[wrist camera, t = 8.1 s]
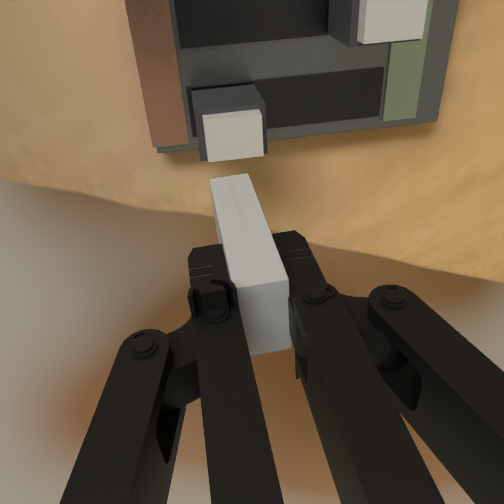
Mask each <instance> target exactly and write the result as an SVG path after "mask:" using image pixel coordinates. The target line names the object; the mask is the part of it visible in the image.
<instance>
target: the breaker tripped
mask: <svg viewBox="0 0 504 504" xmlns="http://www.w3.org/2000/svg"><path fill="white" fill-rule="evenodd" d="M191 94H192V102H193V109H194V117H195V124H196V132H197V139H198V145H199V152H200V158H201V161H207V160H208V162H217V161H225V160H234V159H242V158H251V157H259V156H264V154H266V153H268V152H267V127H266V103H265V101H264V100H263V98H262V96H261V95H260V93H259V91H258V90H257V88H256V86H255V85H254V84H252V85H243V86H233V87H223V88H214V89H204V90H194V91H191Z"/></svg>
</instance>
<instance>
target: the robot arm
mask: <svg viewBox="0 0 504 504" xmlns="http://www.w3.org/2000/svg"><path fill="white" fill-rule="evenodd" d="M209 181H210V188H211V195H212V201H213V208H214V215H215V221H216V228H217V234H218V240H219V244H215V245H209V246H203V247H197V248H193V249H192V251H191V253H190V255H189V257H188V266H189V275H190V285H191V288H190V289H189V291H188V301H189V306H190V310H191V318H190V319H189V320H188V321H187V323H186V324H184V325H183V326H182V327H180V328H179V329H177V330H175V331H173V332H171V333H168V334H165V333H163V332H161V331H160V330H155V329H147V330H141V331H138V332H136V333H134V334H132V335H130V336H129V337H128V338H127V339H126V340H124V342H123V343H122V345H121V346H120V348H119V351H118V354H117V357H116V359H115V361H114V364H113V366H112V369H111V371H110V374H109V377H108V379H107V382H106V384H105V387H104V390H103V392H102V395H101V398H100V400H99V403H98V405H97V408H96V410H95V413H94V416H93V418H92V421H91V423H90V426H89V428H88V431H87V434H86V437H85V439H84V441H83V444H82V447H81V449H80V452H79V454H78V457H77V460H76V462H75V465H74V467H73V470H72V473H71V475H70V478H69V480H68V483H67V486H66V488H65V491H64V493H63V496H62V499H61V501H60V504H167V499H168V494H169V489H170V484H171V479H172V474H173V469H174V464H175V459H176V455H177V450H178V444H179V439H180V435H181V430H182V425H183V420H184V416H185V411H186V405H187V404H188V403H191V402H193V401H194V400H196V399H198V398H201V407H202V416H203V426H204V436H205V446H206V455H207V465H208V475H209V483H210V494H211V504H284V502H283V497H282V493H281V489H280V485H279V480H278V476H277V471H276V467H275V463H274V458H273V454H272V450H271V445H270V441H269V437H268V432H267V428H266V423H265V419H264V415H263V410H262V406H261V401H260V397H259V393H258V388H257V384H256V380H255V376H254V372H253V367H252V362H251V358H250V356H253V355H258V354H263V353H269V352H274V351H279V350H285V349H289V348H291V339H292V342H293V345H294V348H295V368H296V379H298V378H301V381H302V384H303V387H304V390H305V393H306V396H307V399H308V402H309V406H310V409H311V412H312V415H313V418H314V421H315V424H316V427H317V430H318V434H319V437H320V440H321V443H322V446H323V449H324V452H325V455H326V458H327V461H328V464H329V468H330V471H331V474H332V477H333V480H334V483H335V486H336V489H337V492H338V495H339V498H340V502H341V504H445V502H444V500H443V498H442V496H441V494H440V492H439V490H438V488H437V486H436V484H435V482H434V480H433V478H432V476H431V474H430V473H429V471H428V468H427V467H426V464H425V462H424V460H423V458H422V456H421V455H420V453H419V451H418V449H417V447H416V445H415V443H414V441H413V439H412V437H411V435H410V433H409V431H408V429H407V427H406V425H405V423H404V421H403V419H402V417H401V415H400V413H401V414H402V415H403V417H404V418H405V419H406V420H407V422H408V423H409V424H410V425H411V426H412V428H413V429H414V430H415V431H416V433H417V434H418V435H419V436H420V437H421V439H422V440H423V441H424V442H425V443H426V444H427V446H428V447H429V448H430V449H431V451H432V452H433V453H434V454H435V456H436V457H437V458H438V459H439V460H440V462H441V463H442V464H443V465H444V467H445V468H446V469H447V470H448V471H449V473H450V474H451V475H452V476H453V478H454V479H455V480H456V481H457V482H458V484H459V485H460V486H461V487H462V488H463V490H464V491H465V492H466V493H467V494H468V496H469V497H470V498H471V499H472V501H473V502H474V503H475V504H504V372H503V371H502V370H501V369H500V368H499V367H498V366H496V365H495V364H494V363H493V362H492V361H491V360H490V359H489V358H487V357H486V356H485V355H484V354H483V353H482V352H481V351H479V350H478V349H477V348H476V347H475V346H474V345H473V344H471V343H470V342H469V341H468V340H467V339H466V338H465V337H463V336H462V335H461V334H460V333H459V332H458V331H456V330H455V329H454V328H453V327H452V326H450V324H448V323H447V322H446V321H445V320H444V319H443V318H442V317H441V316H439V315H438V314H437V313H436V312H435V311H434V310H433V309H431V308H430V307H429V306H428V305H427V304H426V303H425V302H423V301H422V300H421V299H420V298H419V297H418V296H417V295H415V294H414V293H413V292H412V291H410V290H408V289H407V288H405V287H401V286H398V285H383V286H379V287H377V288H375V289H373V290H372V291H371V293H370V295H369V298H367V297H366V298H365V297H352V296H346V295H343V294H340V293H339V292H338V291H337V290H336V288H335V287H333V286H332V285H330V284H328V283H327V282H326V280H325V278H324V276H323V274H322V272H321V270H320V268H319V266H318V264H317V262H316V260H315V258H314V256H313V254H312V251H311V249H309V245H308V243H307V241H306V239H305V237H303V236H302V235H301V234H299V233H298V232H296V231H295V230H293V231H287V232H281V233H275V234H271V232H270V230H269V227H268V224H267V222H266V219H265V217H264V214H263V211H262V209H261V206H260V204H259V201H258V198H257V196H256V193H255V191H254V188H253V185H252V183H251V180H250V178H249V175H248V173H245V174H239V175H232V176H226V177H219V178H212V179H209ZM399 412H400V413H399Z"/></svg>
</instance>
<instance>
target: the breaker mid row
mask: <svg viewBox="0 0 504 504" xmlns="http://www.w3.org/2000/svg"><path fill="white" fill-rule="evenodd" d="M427 4H428V0H329V18H328V35H330V36H331V37H333V38H335V39H336V40H338V41H340V42H341V43H343V44H345V45H346V46H348V47H358V46H368V45H378V44H389V43H399V42H409V41H420V39H422V38H423V31H424V24H425V17H426V10H427Z"/></svg>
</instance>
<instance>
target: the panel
mask: <svg viewBox="0 0 504 504" xmlns="http://www.w3.org/2000/svg"><path fill="white" fill-rule="evenodd" d="M458 2H459V0H428V4H427V10H426V17H425V24H424V31H423V38H422V39H420V41H409V42H399V43H389V44H378V45H368V46H358V47H348V46H346V45H345V44H343V43H341V42H340V41H338V40H336V39H335V38H333V37H331V36H330V35H328V18H329V0H125V5H126V10H127V15H128V20H129V25H130V30H131V36H132V41H133V46H134V51H135V56H136V62H137V67H138V72H139V77H140V82H141V87H142V93H143V98H144V103H145V108H146V113H147V118H148V124H149V129H150V134H151V139H152V144H153V148H154V147H156V148H157V153H163V152H172V151H181V150H189V149H198V148H199V145H198V139H197V132H196V124H195V117H194V109H193V102H192V94H191V91H194V90H204V89H214V88H223V87H233V86H243V85H252V84H254V85H255V86H256V88H257V90H258V91H259V93H260V95H261V96H262V98H263V100H264V101H265V103H266V127H267V141H268V140H276V139H285V138H294V137H302V136H311V135H320V134H329V133H337V132H346V131H355V130H363V129H372V128H381V127H390V126H398V125H407V124H416V123H424V122H433V121H437V118H438V113H439V107H440V102H441V96H442V91H443V85H444V80H445V74H446V68H447V63H448V57H449V52H450V46H451V41H452V35H453V30H454V24H455V19H456V13H457V8H458Z"/></svg>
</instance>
